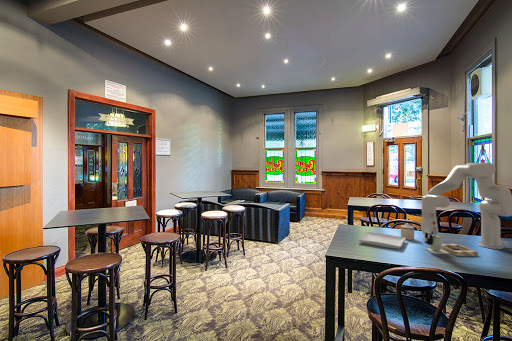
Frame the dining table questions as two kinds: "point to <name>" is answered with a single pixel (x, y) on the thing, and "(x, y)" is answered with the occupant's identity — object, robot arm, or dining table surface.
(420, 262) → the dining table surface
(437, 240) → the jug
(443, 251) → the pad
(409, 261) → the dining table surface
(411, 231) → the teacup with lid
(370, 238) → the square plate
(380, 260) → the dining table surface
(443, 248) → the stand
